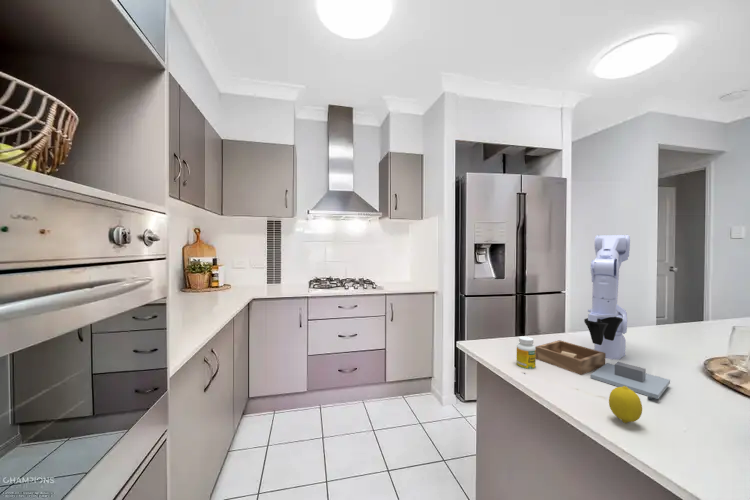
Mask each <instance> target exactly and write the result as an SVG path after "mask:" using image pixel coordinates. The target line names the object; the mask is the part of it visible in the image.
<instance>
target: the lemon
mask: <svg viewBox="0 0 750 500" xmlns="http://www.w3.org/2000/svg"><path fill="white" fill-rule="evenodd" d="M608 404H609V405H608V406H609V408H610V411H611V412H612V414H613V415H614V416H615V417H616V418H618V420H621V422H622V423H624V424H628V423H632V422H637V421H638V420H639V419H640V418H641V417H642V414H643V413H642V412H643V405H642V401H641V398H640V397H639V395H638V393H637V392H634V391H632V390H631V389H629V388H628V387H626V386H623V387H618V386H616V387H615V388H613V389H612V390H611V391H610V392H609V397H608Z"/></svg>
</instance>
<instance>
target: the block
mask: <svg viewBox="0 0 750 500" xmlns="http://www.w3.org/2000/svg"><path fill="white" fill-rule="evenodd" d="M561 354H564V355H567V356H570V357H573V358H576V356H577V354H573V353H568V352H564V351H562V352H561Z"/></svg>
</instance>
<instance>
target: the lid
mask: <svg viewBox="0 0 750 500" xmlns="http://www.w3.org/2000/svg"><path fill="white" fill-rule="evenodd" d="M646 370H647V369H646V368H644V367H640V366H638V365H637V366H636V365H632V364H630V363H629V364H628V363H625V362H621V361H617V362H616V363H614V364H612V363H610V362H607V363H606V362H605V365H604V366H602V367H601V368H598V369H596V370H594V371H592V373H591V374H590V378H591V379H593V380H596V381H600V382H604V383H606V384H609V385H613V386H616V387H623V386H626V387H628V388H629V389H631V390H632V391H634V392H635V393H636V394H641V395H644V396H646V397H647V399H649V400H652V399H656V400H658V399H660V397H661V396H662V395H663V393H664V392H665V390H666V389H667V388H668V387H669V385H670V384H671V379H669V378H665V377H661V376H657V375H654V374H650V373H646Z"/></svg>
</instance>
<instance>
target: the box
mask: <svg viewBox="0 0 750 500" xmlns="http://www.w3.org/2000/svg"><path fill="white" fill-rule="evenodd" d="M535 348H536V360H539V361H540V362H543V363H547V364H549V365H552V366H555V367H558V368H561V369H563V370H567V371H569V372H571V373H575V374H577V375H580V376H583V375H585V374H587V373H590V372H594V371H596V370H598V369H599V368H601V367H602V366H604V365H605V364H606V358H605V353H604V352H600V351H596V350H595V349H592V348H588V347H585V346H582V345H578V344H575V343H570V342H568V341H564V340H561V339H559V340H555V341H552V342H547V343H543V344H540V345H536V346H535ZM562 351H564V352H568V353H573V354H577V356H576V358H573V357H570V356H567V355H564V354H561V352H562Z"/></svg>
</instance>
